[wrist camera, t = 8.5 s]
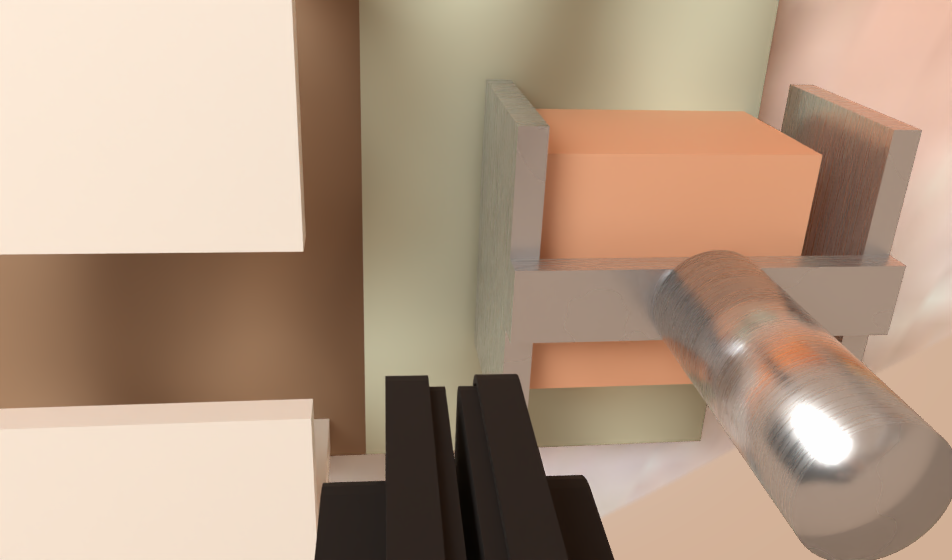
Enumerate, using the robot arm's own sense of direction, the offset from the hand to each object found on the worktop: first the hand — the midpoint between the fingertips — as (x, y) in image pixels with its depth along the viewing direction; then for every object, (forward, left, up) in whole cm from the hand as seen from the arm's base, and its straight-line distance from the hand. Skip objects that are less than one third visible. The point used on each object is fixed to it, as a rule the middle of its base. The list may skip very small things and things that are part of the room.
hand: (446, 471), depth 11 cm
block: (-6, +1, -11) cm, 13 cm away
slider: (-6, +1, -11) cm, 13 cm away
